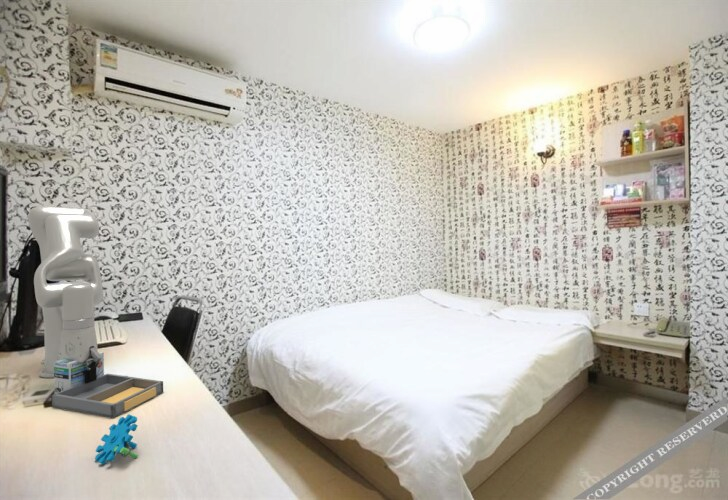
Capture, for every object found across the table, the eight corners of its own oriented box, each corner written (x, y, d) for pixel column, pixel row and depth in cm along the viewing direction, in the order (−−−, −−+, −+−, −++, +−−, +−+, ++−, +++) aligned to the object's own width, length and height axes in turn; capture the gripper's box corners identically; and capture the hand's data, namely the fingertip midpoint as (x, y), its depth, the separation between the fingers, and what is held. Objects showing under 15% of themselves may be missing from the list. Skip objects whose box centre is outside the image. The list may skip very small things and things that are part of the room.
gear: (89, 444, 77) (127, 405, 81) (112, 453, 80) (148, 415, 84) (95, 476, 69) (138, 430, 73) (121, 484, 73) (159, 440, 77)
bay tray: (52, 407, 97) (51, 394, 97) (107, 384, 113) (107, 373, 113) (114, 418, 91) (114, 405, 91) (164, 392, 107) (164, 381, 107)
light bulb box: (70, 399, 102) (70, 363, 102) (53, 396, 103) (52, 361, 103) (105, 384, 112) (104, 351, 112) (88, 382, 114) (88, 350, 114)
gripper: (44, 325, 106) (46, 382, 106) (87, 328, 101) (89, 388, 102) (71, 320, 113) (72, 373, 113) (112, 322, 109) (113, 378, 109)
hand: (80, 380), depth 108 cm, fingers open, 7 cm apart
